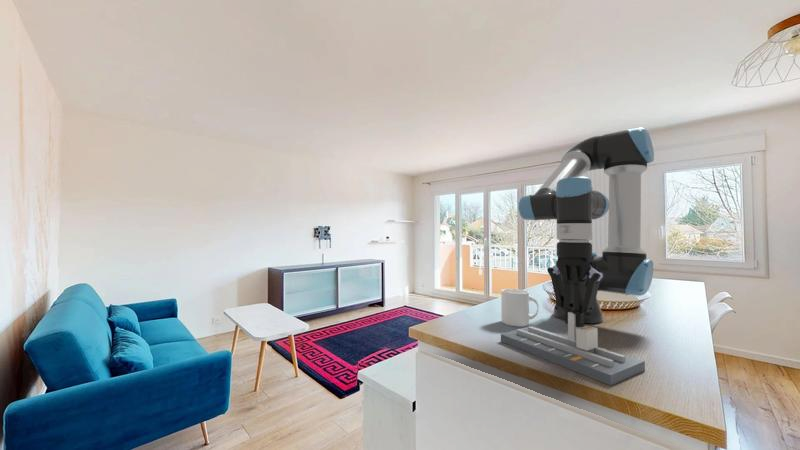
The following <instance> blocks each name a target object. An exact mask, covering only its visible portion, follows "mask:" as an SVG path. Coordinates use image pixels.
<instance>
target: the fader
mask: <svg viewBox="0 0 800 450" xmlns="http://www.w3.org/2000/svg"><path fill="white" fill-rule="evenodd" d="M598 332H599V331H598V327H595V326H590V325H584V326H583V327H579V328H576V347H577V348H580V349H581V350H584V351H587V352H590V353H594V348H597V347H599V346H598V345H599V343H598V342H599V341H598V340H599V339H598V337H599V335H598V334H599V333H598Z"/></svg>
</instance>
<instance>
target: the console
mask: <svg viewBox="0 0 800 450" xmlns="http://www.w3.org/2000/svg"><path fill="white" fill-rule="evenodd" d="M500 342H501V343H504V344H506V345H509V346H512V347H513V348H517V349H519V350H521V351H524V352H527V353H529V354H531V355H533V356H536V357H539V358H542V359H544V360H546V361H548V362H552V363H554V364H556V365H559V366H561V367H564V368H566V369H568V370H571V371H574V372H575V373H578V374H581V375H584V376H587V377H588V378H591V379H594V380H596V381H599V382H601V383H603V384H606V385H608V386H613V385H615V384H618V383H620V382H622V381H624V380H627V379H628V378H631V377H634V376H635V375H638V374H640V373H642V372H645V371H646V363H645V362H646V361H645V360H642V359H640V358H637V357H632V356H630V355H627V354H624V353H623V354H622V353H620V352H616V351H614V350H609V349H607V348H604V347H601V346H598V347H597V348H594V353H590V352H587V351H584V350H581V349H580V348H577V347H576V341H572V340H569V339H568V336H565V335H562V334H558V333H556V332H552V331H549V330H545V329H542V328H540V327H536V326H528V327H526V328H522V329H520V328H518V329H516V330H514V331H508V332H504V333H500Z"/></svg>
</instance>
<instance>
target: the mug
mask: <svg viewBox="0 0 800 450" xmlns="http://www.w3.org/2000/svg"><path fill="white" fill-rule="evenodd" d="M500 292H501V293H500V294H501V296H500V297H501V305H500V306H501V309H500V311H501V314H500V316H501V322H502V323H503V324H504V325H506V326H511V327H514V326H515V328H523V327H527V326H529V324H530V320H533V319H535V317H537V315H538V313H539V302H538V301H537V299H536V298H535V297H534V296H532V295H530V291H528V290H525V289H519V288H504V289H501V291H500ZM530 302H533V303H534V304H535V305H536V308H537V309H536V311H535V312H534V313H533V314H530Z"/></svg>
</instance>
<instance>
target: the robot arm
mask: <svg viewBox="0 0 800 450" xmlns="http://www.w3.org/2000/svg"><path fill="white" fill-rule="evenodd" d="M654 160H655V151H654V146H653V142H652V139H651V136H650V133H649V132H648V130H647V129H646V128H644V127H635V128H631V129H630V128H627V129H625V130H620V131H616V132H615V131H614V132H611V133H606V134H601V135H596V136H592V137H589V138H587V139H584V140H583V141H580V142H578V144H575V145H574V146H573V147H572V148H570V149H569V150H568V151H567V152H566V153H564V155H563V156H562V158H561V160H560V164H559V165H558V167H557V168H556V169H555V170H554V171H553V172H552V173H551V174H550V175H549V177H548V178H547V179H546V180H545V182H544V183H542V185H541V186H540V188H538V190H537V191H536V192H535V194H528V195H524V196H522V197H521V198H519V201H518V213H519V216H520V217H521V218H522V219H523V220H525V221H549V220H550V221H551V220H556V240H558V241H557V243H556V257H557V260H556V263H555V265H554V266H552V267H548V268H547V273H548V275H549V276H550V281H551V284H552V289H553V294H554V296H555V297H554V298H555V305H554V308H553V316H554V317H556V318H557V319H560V320H563V321H564V322H565V325H567V337H568V339H569V340H572V341H576V328H579V327H583V326H585V324H601V323H602V322H604V320H603V319H604V316H603V312H602V308H601V306H600V303H599V301H598V297H597V296H598V295H597V294H598V292H606V293H613V294H614V293H615V294H620V295H621V294H622V295H625V296H638V297H639V296H644V295H645V294H647V293H648V292H649V289H650V287H651V284H652V282H653V281H652V280H653V274H654V261H653V260H652V259H650V258H647V252H646V251H645V250H643V249H642V248H641V223H642V221H641V220H642V219H641V216H642V214H641V212H642V211H641V210H642V205H641V203H642V195H641V194H642V174H643V173H644V172H646V171H647V170H648V164H651V163H653V162H654ZM595 170H596V171H597V170H603V173H604V174H605V175H606V176H608V197H607V195H605V194H603V193H602V192H600V191H598V190H593V189H594V188H593V186H592V180H591V178H590V177H587V176H584V175H585V174H587V173H588V172H589V171H595ZM607 213H608V225H607V227H608V228H607V232H608V233H607V246H606V248H604V249H603V250H602V256H597V255H598V254H597V252H595V251H593V244H592V243H591V242H590V241H592V240H593V220H597V219H600V218H602V217H604V216H605V215H606V214H607Z"/></svg>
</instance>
